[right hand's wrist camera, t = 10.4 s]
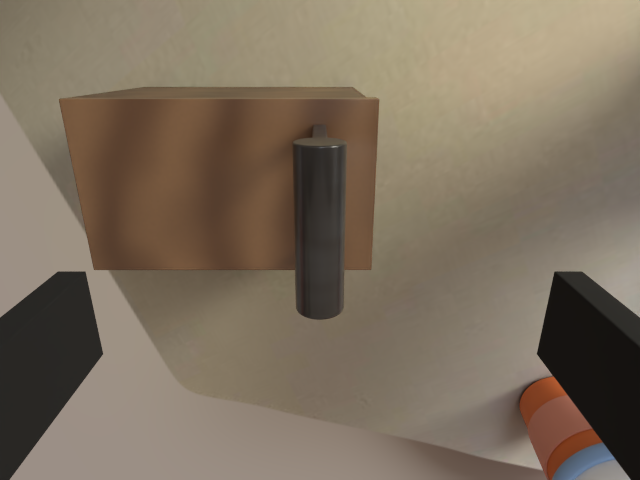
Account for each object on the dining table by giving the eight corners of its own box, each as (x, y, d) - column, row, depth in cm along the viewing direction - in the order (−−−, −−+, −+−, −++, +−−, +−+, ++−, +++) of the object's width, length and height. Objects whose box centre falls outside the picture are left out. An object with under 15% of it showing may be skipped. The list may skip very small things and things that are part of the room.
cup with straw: (500, 437, 47) (601, 646, 30) (507, 366, 43) (624, 556, 27) (589, 432, 46) (740, 640, 30) (602, 360, 43) (781, 548, 26)
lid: (376, 97, 24) (405, 114, 16) (369, 262, 28) (389, 342, 20) (69, 97, 24) (-54, 114, 16) (101, 262, 28) (14, 342, 20)
